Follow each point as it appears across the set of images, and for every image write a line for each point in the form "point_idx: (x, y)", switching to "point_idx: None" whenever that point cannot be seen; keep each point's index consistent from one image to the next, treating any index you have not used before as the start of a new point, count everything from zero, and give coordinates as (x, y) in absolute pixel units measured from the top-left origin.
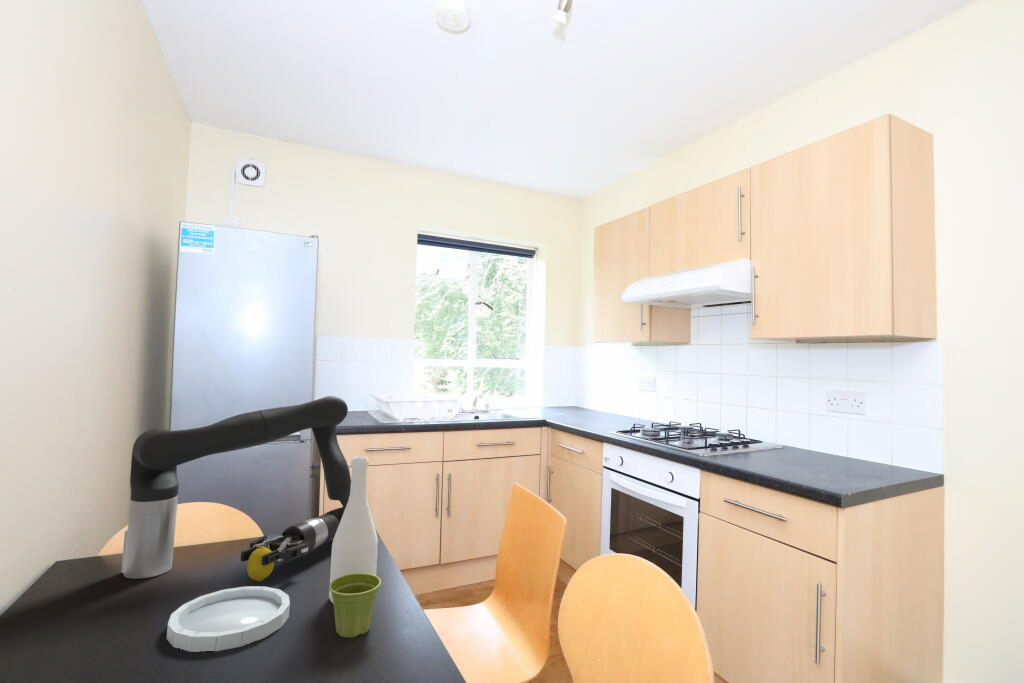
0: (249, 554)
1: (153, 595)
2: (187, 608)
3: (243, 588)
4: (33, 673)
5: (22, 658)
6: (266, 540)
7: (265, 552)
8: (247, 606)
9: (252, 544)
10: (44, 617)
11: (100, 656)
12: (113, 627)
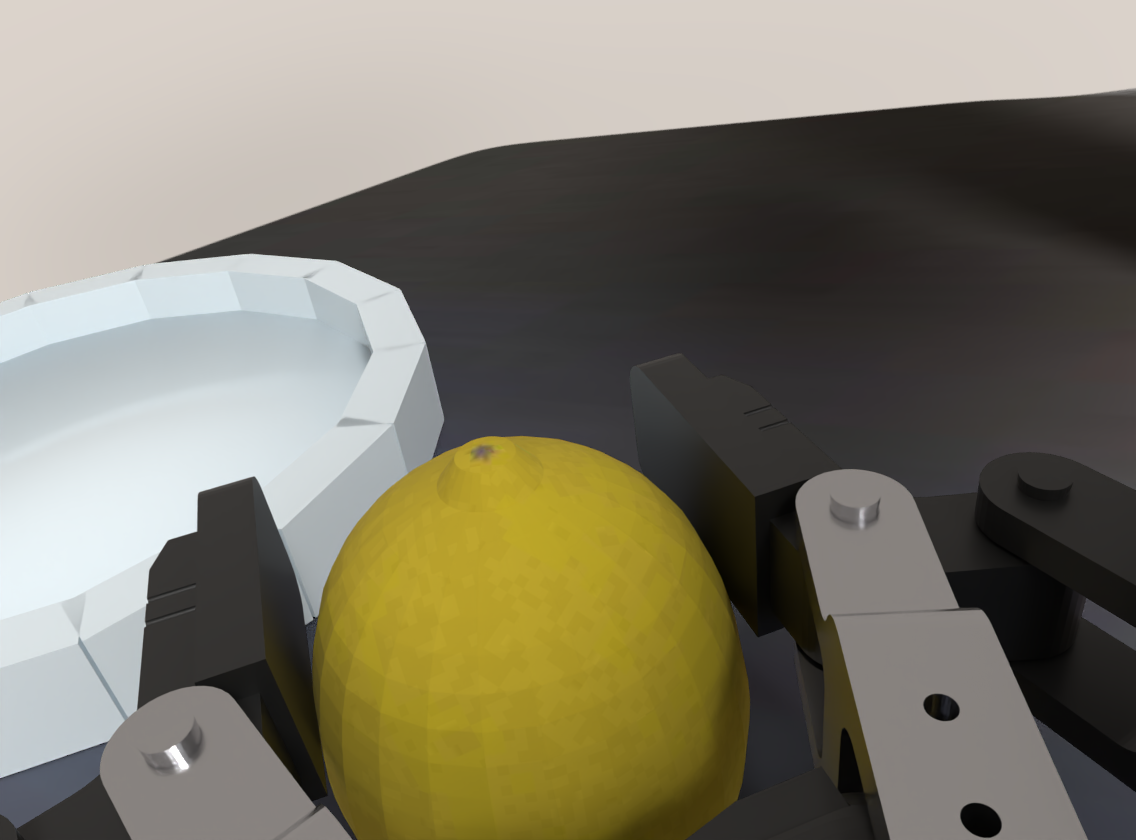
0: (681, 478)
1: (886, 305)
2: (345, 305)
3: None
4: (434, 166)
5: (559, 148)
6: (938, 641)
7: (356, 535)
8: (73, 542)
9: (981, 485)
10: (878, 139)
11: (368, 224)
12: (580, 233)
